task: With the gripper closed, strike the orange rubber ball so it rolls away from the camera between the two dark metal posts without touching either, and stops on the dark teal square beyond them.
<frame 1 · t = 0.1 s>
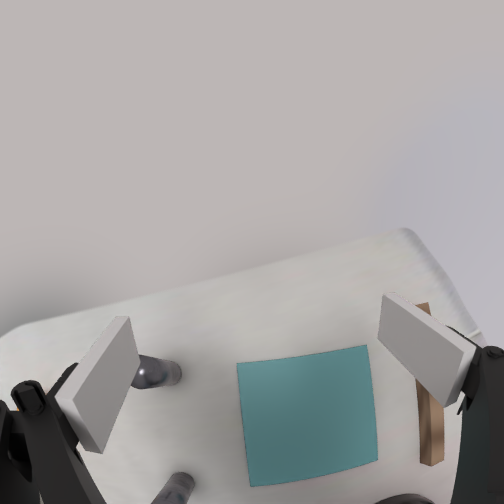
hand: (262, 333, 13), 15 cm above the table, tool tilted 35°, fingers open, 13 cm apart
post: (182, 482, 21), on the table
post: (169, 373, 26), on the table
brown wooden bar: (423, 388, 26), on the table
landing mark: (312, 419, 25), on the table
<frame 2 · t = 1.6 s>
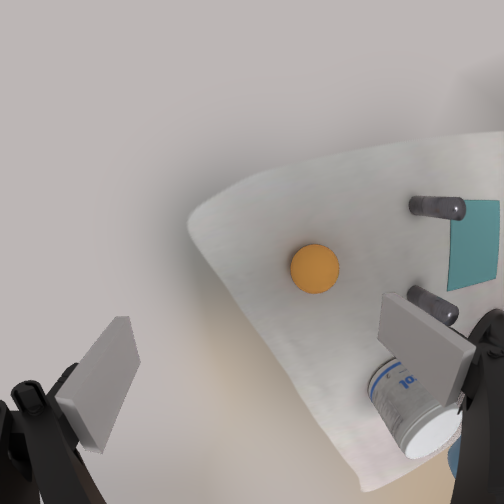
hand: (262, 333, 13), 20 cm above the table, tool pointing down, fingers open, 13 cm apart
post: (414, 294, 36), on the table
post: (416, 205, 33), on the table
ball: (314, 269, 31), on the table
supplement tub: (391, 379, 38), on the table
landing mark: (476, 243, 35), on the table
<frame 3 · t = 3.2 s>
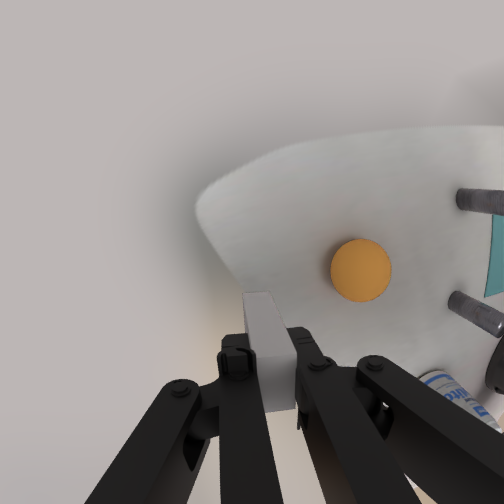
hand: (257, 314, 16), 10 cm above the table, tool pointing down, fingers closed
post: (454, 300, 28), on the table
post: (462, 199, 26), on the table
ball: (361, 270, 23), on the table
supplement tub: (420, 394, 31), on the table
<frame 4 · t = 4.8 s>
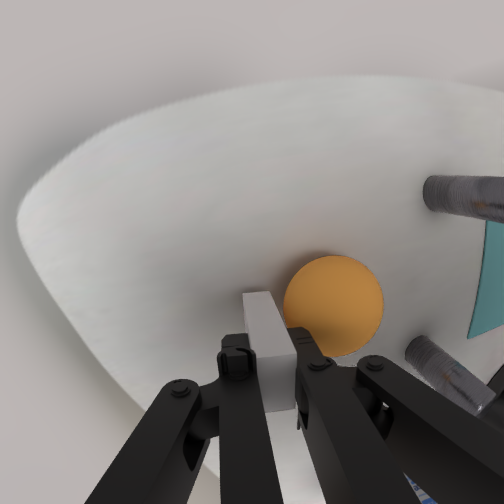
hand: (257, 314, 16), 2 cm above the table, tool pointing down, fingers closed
ball: (333, 306, 15), on the table
supplement tub: (365, 457, 23), on the table
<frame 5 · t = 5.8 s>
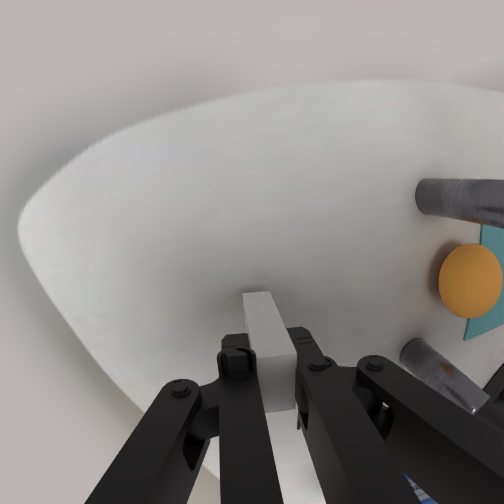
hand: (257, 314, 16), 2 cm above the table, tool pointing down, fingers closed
ball: (470, 281, 16), on the table
supplement tub: (363, 458, 23), on the table
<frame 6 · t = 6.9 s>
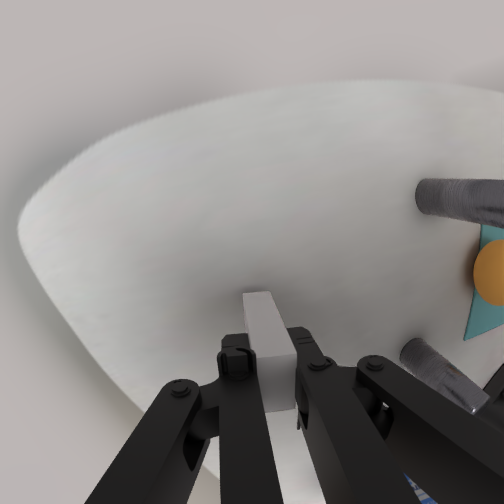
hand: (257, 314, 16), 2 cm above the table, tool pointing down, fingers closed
ball: (500, 272, 16), on the table
supplement tub: (363, 458, 23), on the table
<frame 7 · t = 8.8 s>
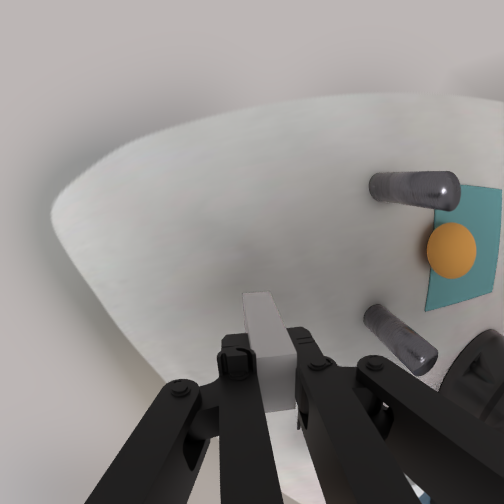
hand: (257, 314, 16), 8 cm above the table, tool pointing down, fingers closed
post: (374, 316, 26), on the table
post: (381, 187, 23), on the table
ball: (451, 250, 22), on the table
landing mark: (470, 245, 26), on the table
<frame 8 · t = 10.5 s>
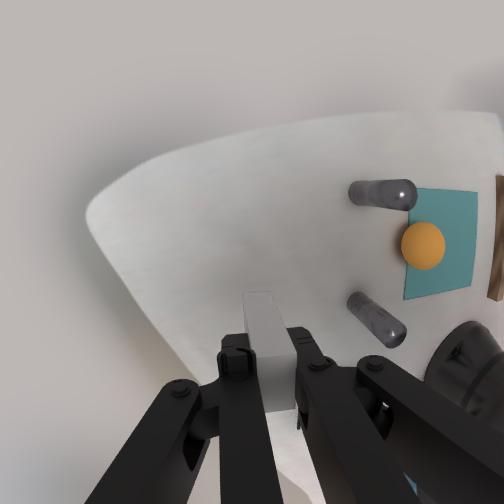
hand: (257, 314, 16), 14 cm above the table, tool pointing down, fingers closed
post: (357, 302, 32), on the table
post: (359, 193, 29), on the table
ball: (423, 245, 28), on the table
brown wooden bar: (497, 237, 32), on the table
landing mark: (446, 242, 31), on the table
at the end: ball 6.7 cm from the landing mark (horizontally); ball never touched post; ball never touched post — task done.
